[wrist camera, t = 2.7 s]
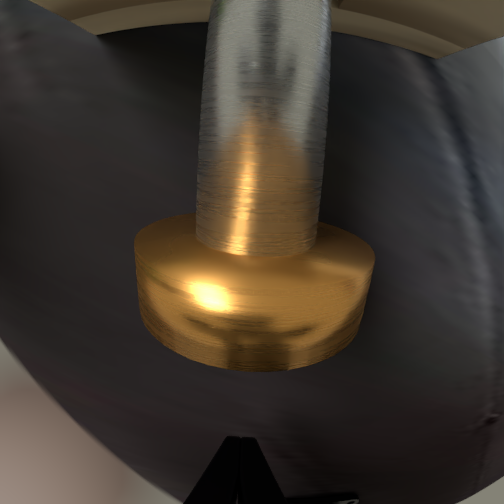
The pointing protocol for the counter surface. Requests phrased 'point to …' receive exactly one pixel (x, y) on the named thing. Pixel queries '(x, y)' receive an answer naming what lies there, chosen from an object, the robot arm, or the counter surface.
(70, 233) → the counter surface
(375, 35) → the block
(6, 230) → the counter surface
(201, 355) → the pin
